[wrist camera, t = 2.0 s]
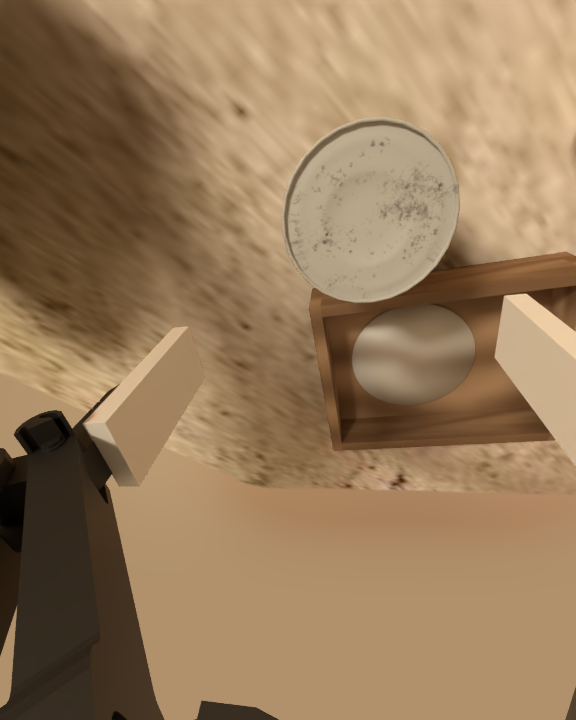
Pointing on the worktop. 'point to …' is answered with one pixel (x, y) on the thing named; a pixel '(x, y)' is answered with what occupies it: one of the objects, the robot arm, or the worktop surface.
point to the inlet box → (434, 357)
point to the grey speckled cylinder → (370, 209)
